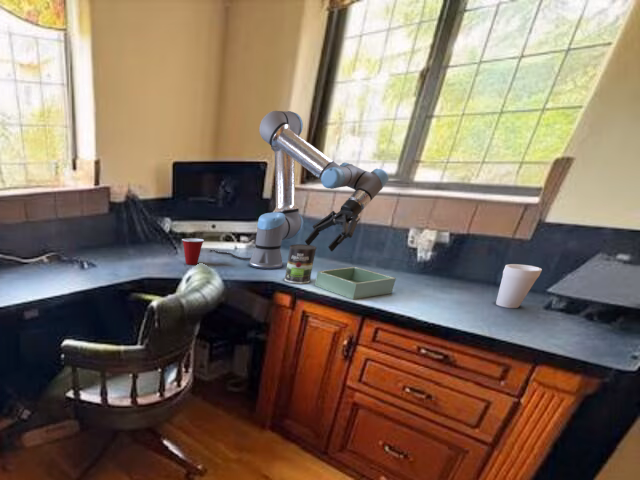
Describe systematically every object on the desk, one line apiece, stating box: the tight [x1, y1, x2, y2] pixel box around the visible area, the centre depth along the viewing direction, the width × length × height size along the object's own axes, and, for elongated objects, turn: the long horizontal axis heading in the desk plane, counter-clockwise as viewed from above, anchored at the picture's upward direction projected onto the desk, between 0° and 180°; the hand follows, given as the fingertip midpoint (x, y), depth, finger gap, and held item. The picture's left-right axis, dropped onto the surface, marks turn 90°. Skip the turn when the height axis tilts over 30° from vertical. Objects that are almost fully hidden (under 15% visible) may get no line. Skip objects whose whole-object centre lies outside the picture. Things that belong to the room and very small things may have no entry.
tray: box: [314, 266, 397, 300], centre depth 165 cm, size 20×19×6 cm
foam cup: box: [495, 263, 543, 309], centre depth 143 cm, size 10×9×13 cm
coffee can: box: [284, 243, 317, 285], centre depth 175 cm, size 10×10×14 cm
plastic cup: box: [181, 237, 205, 266], centre depth 208 cm, size 11×11×12 cm
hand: (317, 246), depth 174 cm, fingers open, 13 cm apart
